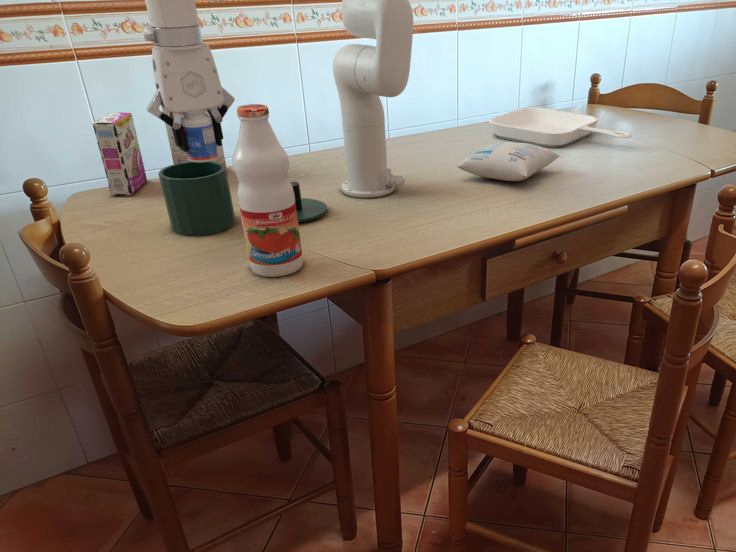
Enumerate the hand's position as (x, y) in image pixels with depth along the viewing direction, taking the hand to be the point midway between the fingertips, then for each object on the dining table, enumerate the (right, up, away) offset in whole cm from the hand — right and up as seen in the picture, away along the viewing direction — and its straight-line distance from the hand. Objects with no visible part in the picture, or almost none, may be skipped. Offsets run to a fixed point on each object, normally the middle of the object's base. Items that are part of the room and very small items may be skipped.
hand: (200, 146), depth 120 cm
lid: (+11, -7, +23) cm, 27 cm away
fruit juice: (+14, -22, +1) cm, 26 cm away
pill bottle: (0, -2, +1) cm, 2 cm away
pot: (-6, -11, +18) cm, 22 cm away
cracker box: (-17, +6, +45) cm, 48 cm away
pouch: (+59, +7, +47) cm, 76 cm away
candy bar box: (-31, +1, +37) cm, 48 cm away
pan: (+78, +26, +79) cm, 114 cm away
